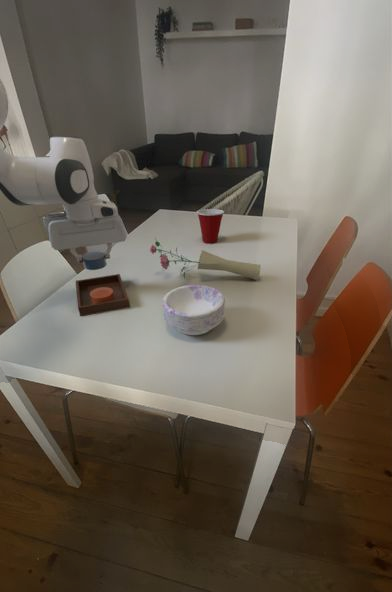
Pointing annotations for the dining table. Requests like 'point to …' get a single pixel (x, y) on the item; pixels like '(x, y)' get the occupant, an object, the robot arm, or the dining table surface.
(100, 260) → the blue short cylinder
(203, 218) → the plastic cup
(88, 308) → the tray
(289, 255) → the dining table surface
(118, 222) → the robot arm
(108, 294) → the orange short cylinder
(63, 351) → the dining table surface
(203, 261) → the flower vase
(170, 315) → the paper bowls
